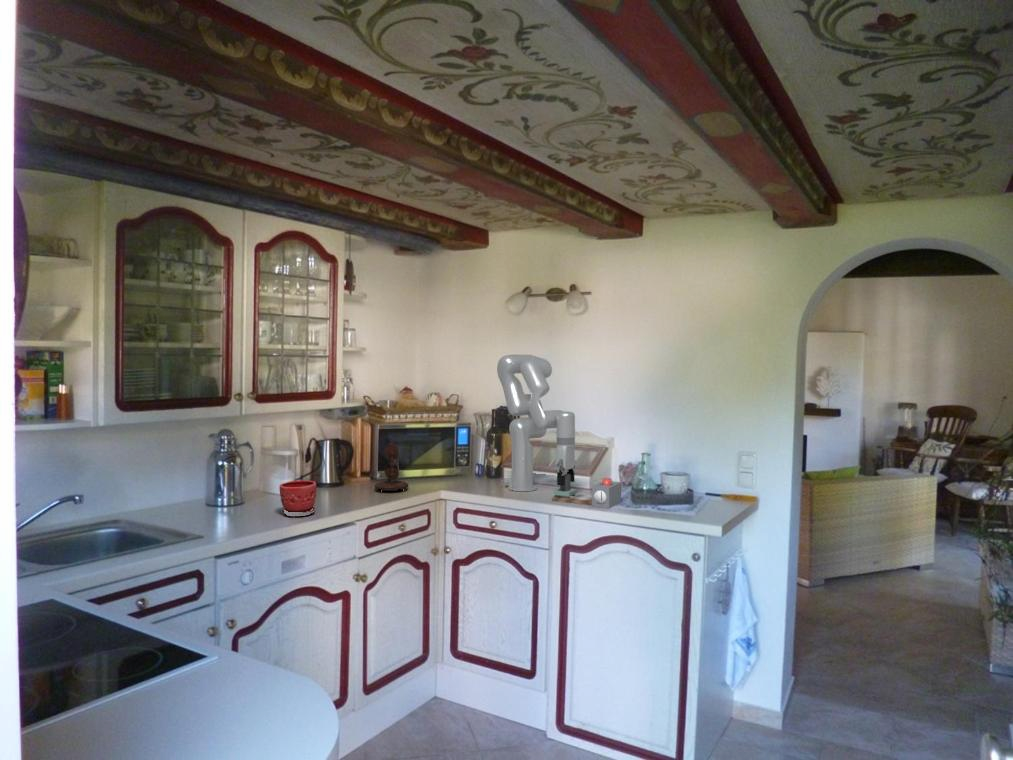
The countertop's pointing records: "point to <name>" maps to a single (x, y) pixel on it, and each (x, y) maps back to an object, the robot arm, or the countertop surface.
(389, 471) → the dark wooden figurine
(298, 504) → the plant pot
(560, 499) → the rail board
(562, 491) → the carriage
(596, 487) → the gauge cabinet
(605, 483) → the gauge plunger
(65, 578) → the countertop surface
